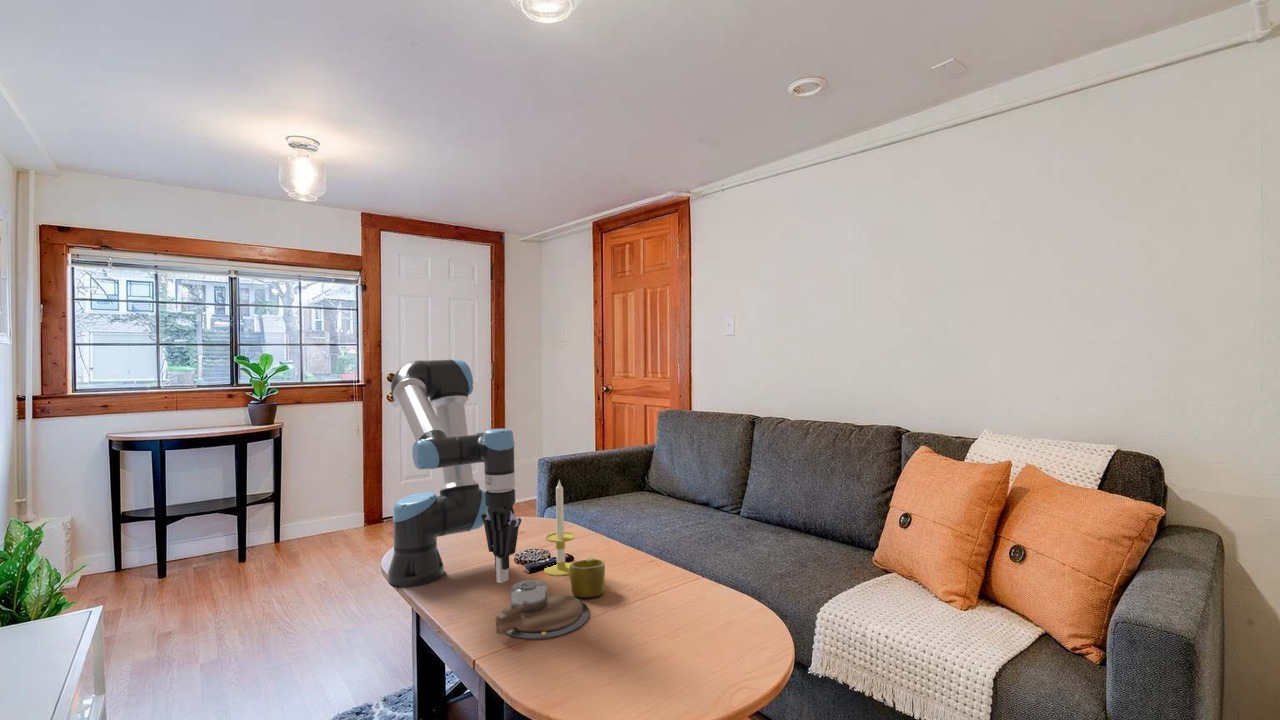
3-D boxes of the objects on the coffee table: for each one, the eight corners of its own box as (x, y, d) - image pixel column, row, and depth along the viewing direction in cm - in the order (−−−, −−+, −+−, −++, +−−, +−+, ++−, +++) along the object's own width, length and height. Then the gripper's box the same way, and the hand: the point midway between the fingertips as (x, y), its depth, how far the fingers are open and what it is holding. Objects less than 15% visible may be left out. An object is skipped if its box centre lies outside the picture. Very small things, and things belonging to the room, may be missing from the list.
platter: (471, 626, 133) (471, 606, 133) (544, 591, 152) (543, 574, 152) (528, 649, 122) (528, 628, 122) (599, 608, 141) (598, 590, 141)
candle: (584, 570, 168) (582, 479, 168) (553, 578, 162) (551, 484, 162) (568, 561, 176) (566, 474, 176) (538, 568, 171) (536, 478, 170)
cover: (503, 607, 140) (502, 586, 140) (530, 594, 148) (529, 574, 148) (528, 616, 135) (528, 594, 135) (555, 602, 142) (554, 581, 142)
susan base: (477, 623, 136) (477, 617, 136) (544, 591, 154) (544, 586, 154) (543, 649, 123) (543, 643, 123) (607, 611, 141) (607, 605, 141)
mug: (605, 596, 145) (595, 557, 148) (568, 606, 147) (559, 567, 150) (619, 587, 157) (609, 550, 159) (585, 596, 159) (576, 560, 161)
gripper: (472, 489, 148) (474, 580, 148) (505, 495, 140) (508, 591, 140) (494, 484, 154) (497, 571, 154) (528, 489, 146) (531, 581, 146)
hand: (502, 580), depth 147 cm, fingers closed
